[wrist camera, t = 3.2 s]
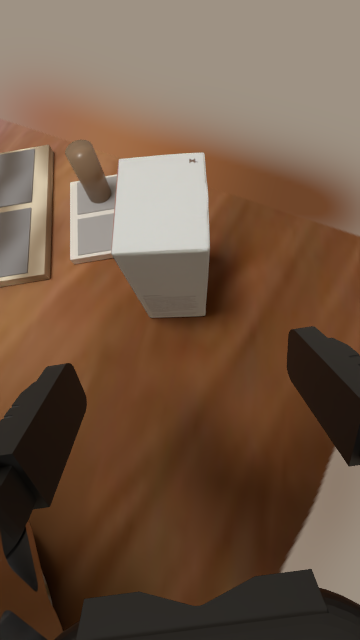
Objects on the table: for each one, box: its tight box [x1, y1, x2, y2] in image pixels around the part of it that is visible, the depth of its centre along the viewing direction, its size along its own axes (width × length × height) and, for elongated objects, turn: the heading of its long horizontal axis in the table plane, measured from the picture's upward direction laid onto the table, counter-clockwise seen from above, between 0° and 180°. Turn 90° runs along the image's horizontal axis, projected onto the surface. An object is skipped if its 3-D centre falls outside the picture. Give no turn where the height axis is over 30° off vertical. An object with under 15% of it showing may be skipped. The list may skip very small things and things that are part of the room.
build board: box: [0, 145, 54, 287], centre depth 33 cm, size 13×21×1 cm, turn 8°
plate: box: [65, 140, 117, 264], centre depth 29 cm, size 8×12×7 cm, turn 8°
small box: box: [111, 153, 210, 318], centre depth 22 cm, size 8×6×13 cm
